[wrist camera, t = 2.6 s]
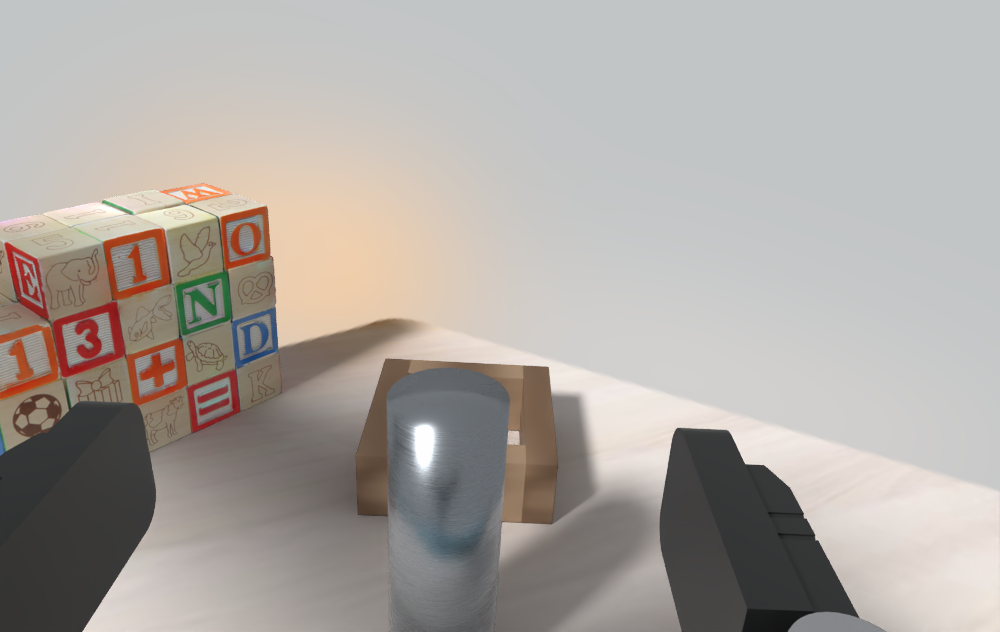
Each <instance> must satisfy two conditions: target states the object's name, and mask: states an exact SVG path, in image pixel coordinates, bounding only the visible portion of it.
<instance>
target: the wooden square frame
mask: <svg viewBox="0 0 1000 632" xmlns="http://www.w3.org/2000/svg"><path fill="white" fill-rule="evenodd" d="M433 368H461V369H467V370H472V371H476V372H479V373H482V374H485V375H487V376H489V377H491V378H493V379H495V380H496V381H498V382H499V383H500V384H502V385H503V387H504V388H505V389H506V390H507V392H508V394H509V397H510V408H509V423H508V430H519V434H520V445H507V453H506V468H505V482H504V497H503V512H502V522H521V523H542V524H552V517H553V508H554V498H555V488H556V479H557V469H558V462H557V451H556V441H555V430H554V419H553V409H552V398H551V387H550V377H549V367H541V366H521V365H501V364H482V363H462V362H442V361H423V360H403V359H385V362H384V365H383V368H382V371H381V375H380V378H379V381H378V385H377V388H376V391H375V394H374V398H373V401H372V404H371V407H370V411H369V414H368V417H367V420H366V424H365V427H364V430H363V434H362V437H361V440H360V443H359V447H358V450H357V453H356V476H357V505H358V515H377V516H388V482H387V405H386V399H387V394H388V391H389V390H390V388H391V387H392V386H393V385H394V384H395V383H396V382H397V381H398V380H400V379H401V378H403V377H405V376H407V375H409V374H412V373H415V372H418V371H422V370H427V369H433Z"/></svg>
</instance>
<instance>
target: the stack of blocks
mask: <svg viewBox="0 0 1000 632" xmlns="http://www.w3.org/2000/svg"><path fill="white" fill-rule="evenodd" d="M275 292H276V289H275V276H274V265H273V257H272V256H270V236H269V221H268V209H267V206H266V205H264V204H261V203H259V202H256V201H254V200H251V199H248V198H245V197H243V196H240V195H238V194H232V193H231V192H229V191H225V190H222V189H219V188H217V187H214V186H210V185H207V184H204V183H201V184H196V185H191V186H186V187H181V188H176V189H170V190H164V191H159V192H157V191H155V190H148V191H143V192H138V193H133V194H127V195H122V196H116V197H112V198H106V199H104V200H103V202H102V203H100V202H95V203H89V204H84V205H79V206H75V207H69V208H65V209H60V210H55V211H50V212H46V213H44V214H43V215H39V214H37V215H32V216H26V217H22V218H16V219H11V220H6V221H1V222H0V456H1V455H2V454H3V453H4V452H6V451H8V450H9V449H11V448H13V447H15V446H16V445H18V444H20V443H22V442H24V441H25V440H27V439H29V438H31V437H33V436H34V435H36V434H38V433H47V432H48V431H49V430H50V429H51V428H52V427H53V426H54V425H55V424H56V423H57V422H58V421H59V420H60V419H61V418H62V417H63V416H64V415H65V414H66V413H67V412H68V411H69V410H70V409H71V408H72V407H73V406H74V405H75V404H76V403H78V402H80V401H100V402H123V403H134V404H136V405H137V406H138V407H139V408H140V410H141V413H142V416H143V420H144V426H145V431H146V437H147V443H148V448H149V452H151V451H153V450H155V449H158V448H160V447H162V446H164V445H166V444H169V443H171V442H173V441H175V440H177V439H180V438H182V437H184V436H186V435H188V434H190V433H194V432H197V431H199V430H201V429H203V428H206V427H208V426H210V425H212V424H214V423H216V422H219V421H221V420H223V419H225V418H228V417H230V416H232V415H234V414H236V413H239V412H240V411H243V410H246V409H248V408H250V407H252V406H255V405H257V404H259V403H261V402H263V401H266V400H268V399H270V398H272V397H274V396H277V395H279V394H281V393H282V385H281V374H280V358H279V351H278V338H277V324H276V308H275V304H276V295H275Z"/></svg>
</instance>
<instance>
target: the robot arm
mask: <svg viewBox="0 0 1000 632" xmlns="http://www.w3.org/2000/svg"><path fill="white" fill-rule="evenodd" d="M155 502H156V488H155V482H154V476H153V471H152V465H151V459H150V454H149V448H148V443H147V437H146V431H145V426H144V420H143V416H142V413H141V410H140V408H139V407H138V406H137V405H136V404H134V403H123V402H100V401H80V402H78V403H76V404H75V405H74V406H73V407H72V408H71V409H70V410H69V411H68V412H67V413H66V414H65V415H64V416H63V417H62V418H61V419H60V420H59V421H58V422H57V423H56V424H55V425H54V426H53V427H52V428H51V429H50V430H49V431H48V432H47V433H38V434H36V435H34V436H33V437H31V438H29V439H27V440H25V441H24V442H22V443H20V444H18V445H16V446H15V447H13V448H11V449H9V450H8V451H6V452H4V453H3V454H2V455H1V456H0V632H82V631H83V630H84V628H85V627H86V625H87V623H88V622H89V620H90V619H91V617H92V616H93V614H94V613H95V611H96V609H97V608H98V606H99V605H100V603H101V602H102V600H103V599H104V597H105V595H106V594H107V592H108V591H109V589H110V588H111V586H112V585H113V583H114V581H115V580H116V578H117V577H118V575H119V574H120V572H121V570H122V569H123V567H124V566H125V564H126V563H127V561H128V560H129V558H130V556H131V555H132V553H133V552H134V550H135V549H136V547H137V546H138V544H139V542H140V541H141V539H142V538H143V536H144V535H145V533H146V531H147V530H148V528H149V526H150V523H151V520H152V517H153V514H154V509H155ZM803 515H804V513H803V511H802V509H801V508H800V506H799V504H798V502H797V500H796V498H795V496H794V494H793V493H792V491H791V489H790V487H788V486H787V485H786V484H785V483H784V482H783V481H782V480H780V479H779V478H778V477H777V476H776V475H775V474H774V473H772V472H771V471H770V470H769V469H768V468H767V467H766V466H764V465H746V464H745V463H744V461H743V459H742V457H741V455H740V452H739V450H738V448H737V446H736V444H735V442H734V440H733V438H732V435H731V434H730V432H729V431H727V430H714V429H691V428H677V429H676V431H675V432H674V435H673V439H672V444H671V450H670V456H669V462H668V469H667V475H666V481H665V487H664V493H663V499H662V506H661V512H660V543H661V551H662V555H663V559H664V563H665V567H666V571H667V575H668V579H669V583H670V587H671V591H672V594H673V598H674V602H675V606H676V610H677V614H678V618H679V622H680V626H681V630H682V632H886V631H884V630H883V629H881V628H879V627H877V626H875V625H874V624H872V623H870V622H867V621H865V620H863V619H860V618H859V616H858V614H857V613H856V611H855V609H854V607H853V605H852V603H851V601H850V599H849V598H848V596H847V594H846V592H845V590H844V588H843V586H842V584H841V583H840V581H839V579H838V577H837V575H836V573H835V571H834V569H833V568H832V566H831V564H830V562H829V560H828V558H827V556H826V554H825V553H824V551H823V549H822V547H821V545H820V543H819V541H818V540H815V534H814V532H813V530H812V528H811V526H810V524H809V523H808V521H807V519H804V516H803Z"/></svg>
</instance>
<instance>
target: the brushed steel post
mask: <svg viewBox="0 0 1000 632" xmlns="http://www.w3.org/2000/svg"><path fill="white" fill-rule="evenodd" d="M386 405H387V482H388V559H389V632H494V630H495V615H496V601H497V586H498V571H499V556H500V541H501V527H502V512H503V497H504V482H505V468H506V453H507V438H508V423H509V408H510V397H509V394H508V392H507V390H506V389H505V388H504V387H503V385H502V384H500V383H499V382H498V381H496V380H495V379H493V378H491V377H489V376H487V375H485V374H482V373H479V372H476V371H472V370H467V369H461V368H433V369H427V370H422V371H418V372H415V373H412V374H409V375H407V376H405V377H403V378H401V379H400V380H398V381H397V382H396V383H395V384H394V385H393V386H392V387H391V388H390V390H389V391H388V394H387V399H386Z"/></svg>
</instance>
